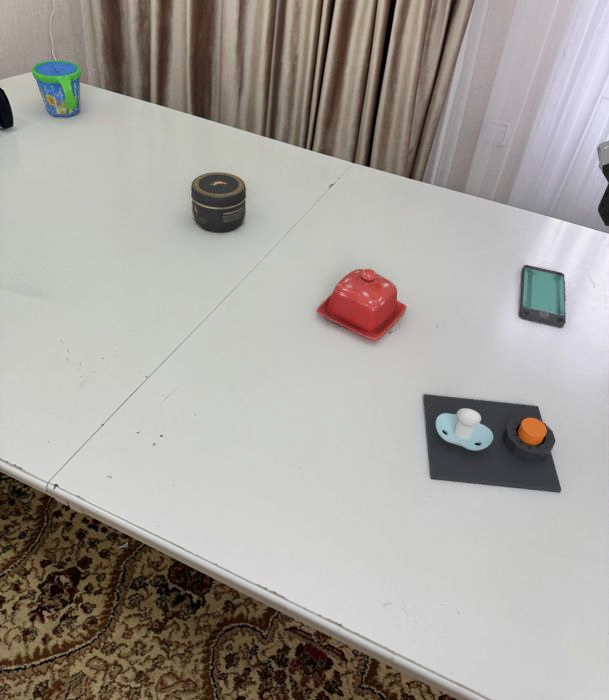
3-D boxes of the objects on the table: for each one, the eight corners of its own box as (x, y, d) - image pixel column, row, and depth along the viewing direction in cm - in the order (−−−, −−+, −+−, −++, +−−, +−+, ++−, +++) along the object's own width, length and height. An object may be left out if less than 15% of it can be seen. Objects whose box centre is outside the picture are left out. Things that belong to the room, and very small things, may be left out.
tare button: (539, 427, 81) (544, 418, 80) (544, 446, 79) (549, 437, 78) (515, 425, 81) (519, 416, 80) (519, 444, 79) (524, 435, 78)
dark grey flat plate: (537, 409, 87) (543, 397, 85) (560, 493, 76) (567, 481, 75) (422, 397, 87) (426, 384, 85) (430, 479, 77) (434, 467, 75)
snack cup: (94, 122, 146) (87, 77, 139) (47, 127, 142) (37, 81, 135) (79, 97, 156) (72, 55, 149) (35, 102, 152) (26, 58, 145)
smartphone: (520, 312, 101) (524, 263, 112) (518, 318, 102) (521, 268, 113) (567, 323, 100) (565, 272, 111) (564, 329, 101) (563, 278, 111)
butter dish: (409, 311, 101) (419, 268, 95) (374, 348, 94) (383, 304, 88) (349, 284, 105) (355, 241, 100) (311, 318, 98) (316, 274, 92)
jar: (182, 217, 118) (179, 180, 112) (225, 202, 123) (224, 166, 118) (213, 240, 112) (211, 203, 107) (256, 224, 118) (257, 187, 112)
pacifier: (439, 411, 84) (429, 441, 80) (450, 378, 80) (440, 408, 76) (492, 429, 83) (485, 461, 78) (506, 396, 79) (499, 428, 74)
